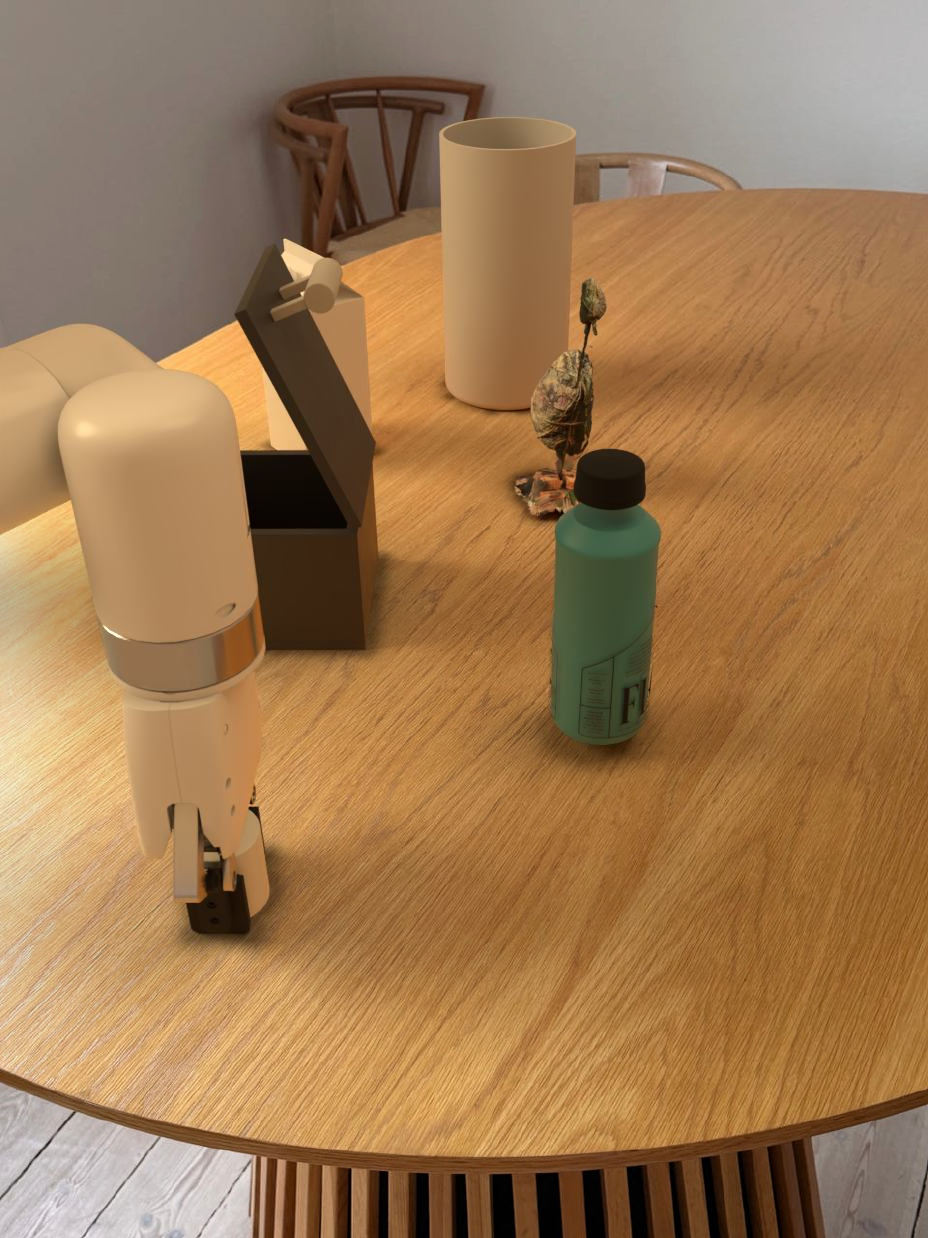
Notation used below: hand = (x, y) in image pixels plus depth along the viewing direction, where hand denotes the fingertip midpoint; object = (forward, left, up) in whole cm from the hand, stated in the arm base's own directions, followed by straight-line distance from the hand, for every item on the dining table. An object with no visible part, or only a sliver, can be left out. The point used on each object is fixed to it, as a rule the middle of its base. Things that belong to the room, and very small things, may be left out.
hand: (229, 891), depth 68 cm
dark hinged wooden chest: (-21, +21, 0) cm, 30 cm away
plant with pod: (-15, +49, -1) cm, 51 cm away
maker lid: (-18, +24, +17) cm, 34 cm away
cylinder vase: (-33, +63, -1) cm, 71 cm away
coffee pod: (0, 0, 0) cm, 0 cm away
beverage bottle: (+7, +25, -1) cm, 26 cm away
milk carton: (-37, +41, -1) cm, 55 cm away
